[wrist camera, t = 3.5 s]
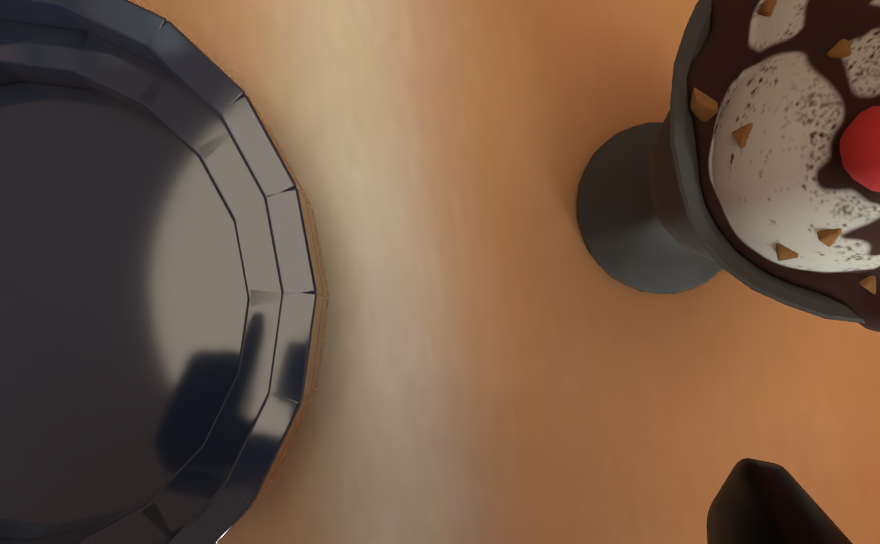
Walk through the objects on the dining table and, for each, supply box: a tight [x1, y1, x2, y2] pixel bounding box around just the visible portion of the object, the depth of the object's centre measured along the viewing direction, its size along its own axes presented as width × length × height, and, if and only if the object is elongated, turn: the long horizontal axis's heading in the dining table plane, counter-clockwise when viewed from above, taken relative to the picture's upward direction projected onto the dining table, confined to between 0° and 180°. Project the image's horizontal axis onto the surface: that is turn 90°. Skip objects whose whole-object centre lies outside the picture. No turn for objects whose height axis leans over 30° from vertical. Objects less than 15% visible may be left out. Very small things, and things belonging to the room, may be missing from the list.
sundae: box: [577, 0, 880, 332], centre depth 16 cm, size 7×7×15 cm
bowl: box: [0, 0, 328, 544], centre depth 20 cm, size 16×16×4 cm
